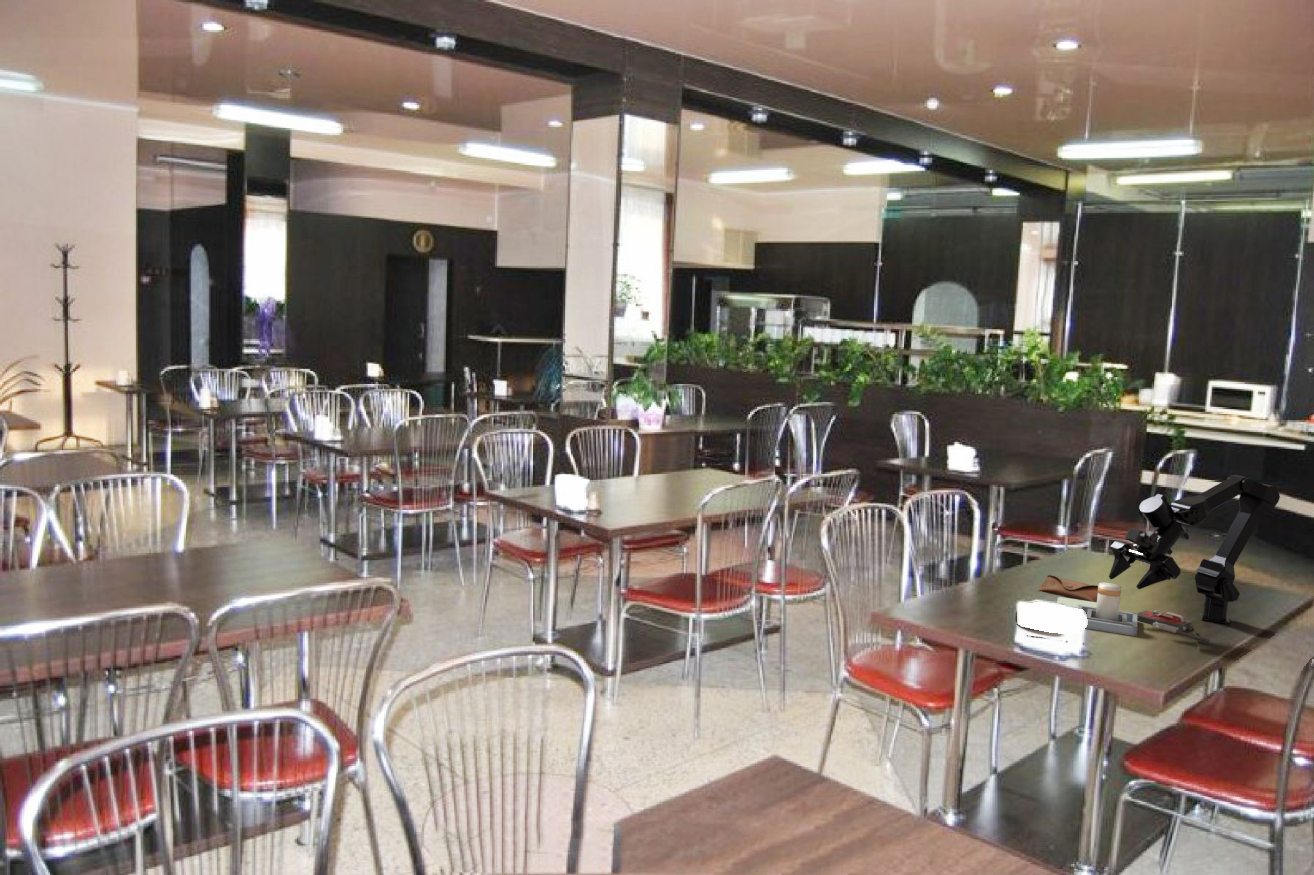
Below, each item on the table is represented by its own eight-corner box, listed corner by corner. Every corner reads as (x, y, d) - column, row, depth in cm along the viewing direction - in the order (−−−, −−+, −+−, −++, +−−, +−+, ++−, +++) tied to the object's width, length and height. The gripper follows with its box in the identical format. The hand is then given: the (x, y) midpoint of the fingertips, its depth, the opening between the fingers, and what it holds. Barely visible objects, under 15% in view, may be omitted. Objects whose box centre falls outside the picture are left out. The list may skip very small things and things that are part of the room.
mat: (1058, 600, 278) (1058, 596, 278) (1101, 606, 273) (1101, 603, 273) (1055, 610, 268) (1055, 606, 268) (1100, 617, 263) (1100, 613, 263)
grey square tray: (1077, 616, 263) (1078, 604, 263) (1135, 625, 257) (1137, 613, 257) (1074, 630, 251) (1075, 618, 250) (1136, 640, 245) (1137, 628, 244)
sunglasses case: (1034, 590, 287) (1041, 568, 289) (1041, 598, 292) (1048, 577, 294) (1098, 604, 275) (1105, 582, 277) (1105, 613, 280) (1111, 591, 282)
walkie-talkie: (1126, 625, 258) (1207, 647, 243) (1128, 608, 258) (1209, 629, 242) (1142, 619, 264) (1222, 641, 248) (1144, 603, 263) (1225, 624, 248)
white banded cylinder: (1094, 619, 257) (1098, 581, 256) (1117, 622, 255) (1121, 584, 254) (1094, 624, 253) (1098, 586, 251) (1117, 628, 250) (1121, 589, 249)
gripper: (1119, 510, 262) (1081, 553, 260) (1177, 525, 245) (1136, 571, 243) (1139, 539, 266) (1102, 581, 264) (1198, 556, 248) (1158, 601, 246)
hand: (1123, 583), depth 254 cm, fingers open, 9 cm apart
